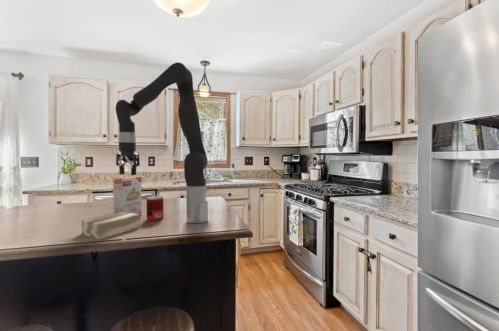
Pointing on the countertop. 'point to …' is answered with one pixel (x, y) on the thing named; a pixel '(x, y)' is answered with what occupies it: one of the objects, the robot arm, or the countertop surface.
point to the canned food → (154, 208)
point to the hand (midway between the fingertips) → (127, 174)
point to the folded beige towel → (110, 224)
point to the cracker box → (127, 195)
